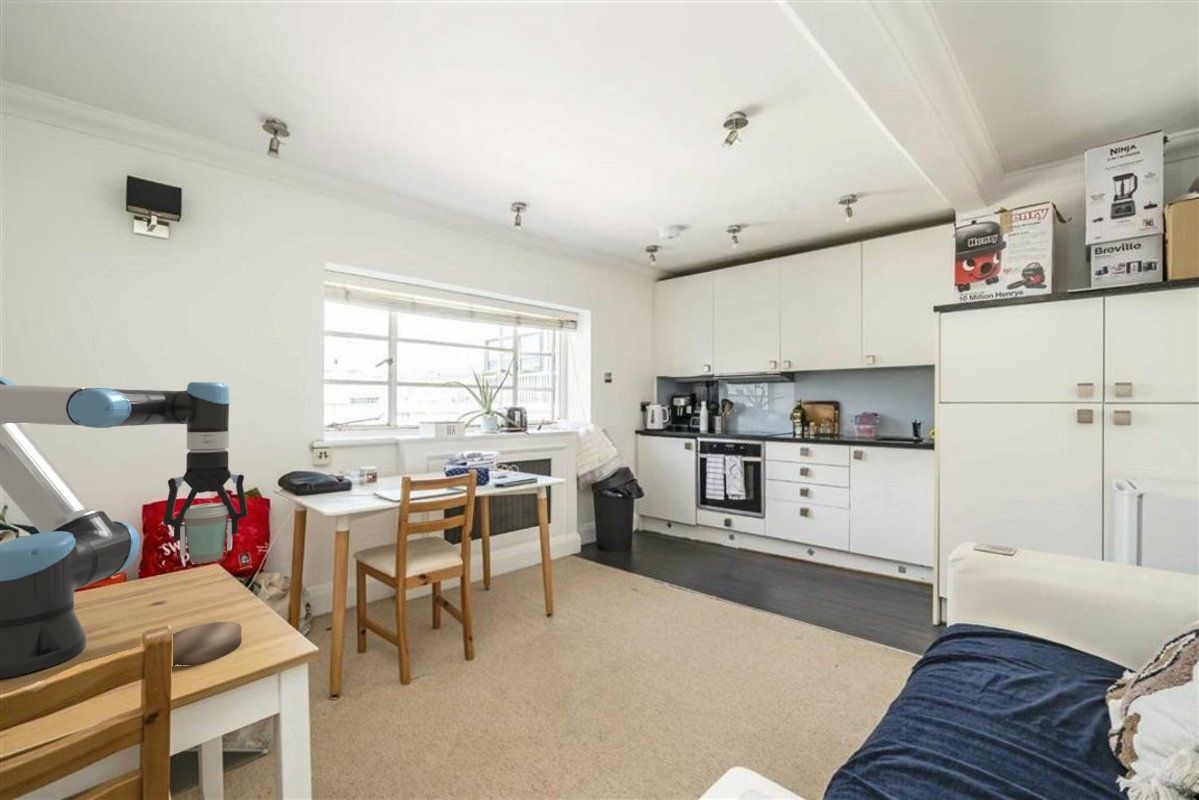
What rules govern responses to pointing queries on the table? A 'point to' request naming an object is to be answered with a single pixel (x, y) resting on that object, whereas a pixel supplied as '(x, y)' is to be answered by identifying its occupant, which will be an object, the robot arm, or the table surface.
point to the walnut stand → (205, 642)
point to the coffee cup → (206, 531)
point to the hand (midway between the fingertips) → (206, 551)
